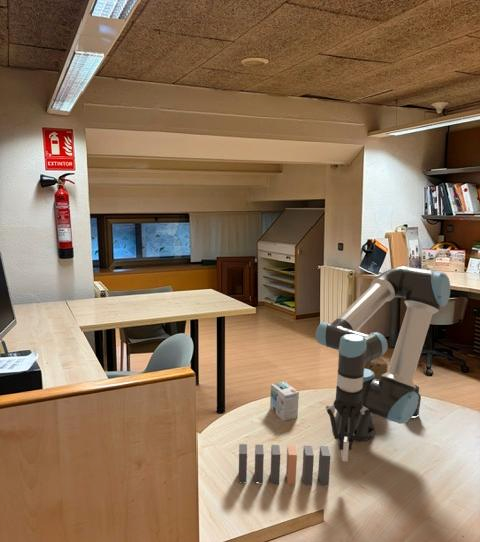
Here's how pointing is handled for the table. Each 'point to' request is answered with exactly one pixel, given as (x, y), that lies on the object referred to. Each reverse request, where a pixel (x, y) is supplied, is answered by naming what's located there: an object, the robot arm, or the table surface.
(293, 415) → the light bulb box
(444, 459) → the table surface
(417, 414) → the supplement bottle
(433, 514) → the table surface
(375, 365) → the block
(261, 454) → the domino
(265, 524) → the table surface
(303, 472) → the domino
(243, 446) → the domino
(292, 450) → the domino
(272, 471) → the domino
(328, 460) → the domino
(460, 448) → the table surface
